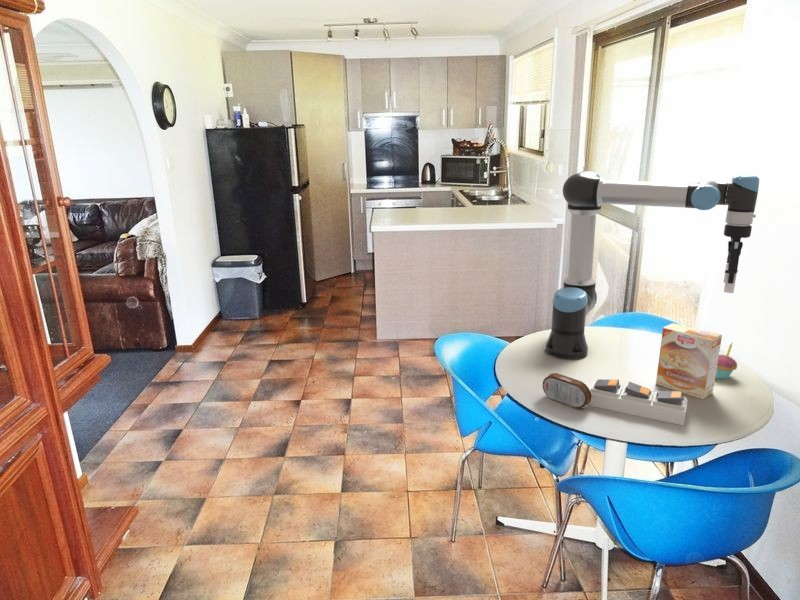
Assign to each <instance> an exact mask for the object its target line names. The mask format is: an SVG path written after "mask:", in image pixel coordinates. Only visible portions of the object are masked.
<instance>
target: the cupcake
mask: <svg viewBox="0 0 800 600" xmlns="http://www.w3.org/2000/svg"><path fill="white" fill-rule="evenodd" d="M732 347H733V342H731V343H730V344H729V347H728V350H727V352H726V355H725V354H719V357H718V363H717V369H716V376H715V379H720V380H725V379H726V378H727V379H729V377H730V375H731V374H732V372H733V371H734V370H737V368H738V363H737V361H736V359H734V358H733V357H731V356H729V355H730V352H731V349H732Z"/></svg>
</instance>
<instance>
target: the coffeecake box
mask: <svg viewBox="0 0 800 600" xmlns="http://www.w3.org/2000/svg"><path fill="white" fill-rule="evenodd" d="M722 338H723V335H722V334H719V333H716V332H712V331H711V332H710V331H708V330H707V331H706V330H703V329H699V328H695V327H690V326H687V325H682V324H679V323H678V324H677V323H674V322H673V323H670V324H668V325H665V326H663V327H662V332H661V339H660V340H661V341H660V348H659V349H660V350H659V355H658V356H659V357H658V363H657V365H658V366H657V370H656V372H657V373H656V378H655V379H656V380H655V385H658V386H661V387H663V386H664V388H667V389H668V390H669V389H670V390H672V391H682V394H685V395H688V396H692V397H695V398H698V399H700V400H705V399H706V398H707V397H709V396H711V395H712V394H713V392H714V387H715V381H716V380H715V379H716V377H715V376H716V369H717V363H718V357H719V355H720V352H721V345H722Z"/></svg>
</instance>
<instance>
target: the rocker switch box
mask: <svg viewBox="0 0 800 600" xmlns="http://www.w3.org/2000/svg"><path fill="white" fill-rule="evenodd" d="M597 380H598V379H594V381H593V382H592V385H591V387H590V388H589V390H590V392H591V401H590V403H589V404H588V405H587V406H589V407H595V408H598V409H599V408H600V409H604V410H608V411H613V412H618V413H624V414H628V415H632V416H637V417H642V418H647V419H651V420H656V421H661V422H666V423H670V424H675V425H680V426H685V419H686V413H687V407H688V398H687V397H686V396H683V395H682V403H681V404H674V403H664V402H659V401H657V396H658V392H659V391H655V390H651V389H650V392H649V395H648V398H647V399H644V398H639V397H635V396H632V395H630V394H627V393H625V391H626V389H627V386H628V385H623V384H619V387H618V389H617V391H603V390H598V389H595V384H596V382H597ZM654 391H655V392H654Z"/></svg>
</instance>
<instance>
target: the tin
mask: <svg viewBox="0 0 800 600" xmlns="http://www.w3.org/2000/svg"><path fill="white" fill-rule="evenodd" d="M542 390H543V393H544V394H545V396H546V397H547V398H548V399H549V400H552V401H554V402H557V403H559V404H563V405H565V406H567V407H570V408H573V409H576V410H579V409H582V408H585V407H586V406H589V405H588V404H589V403H590V401H591V392H590V388H589V386H587V384H585V382H583V381H581V380H578V379H575V378H572V377H570V376H566V375H563V374H561V373H557V372H552V373H550V374H548V375H547V376H545V377H544V379H543V381H542Z"/></svg>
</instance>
